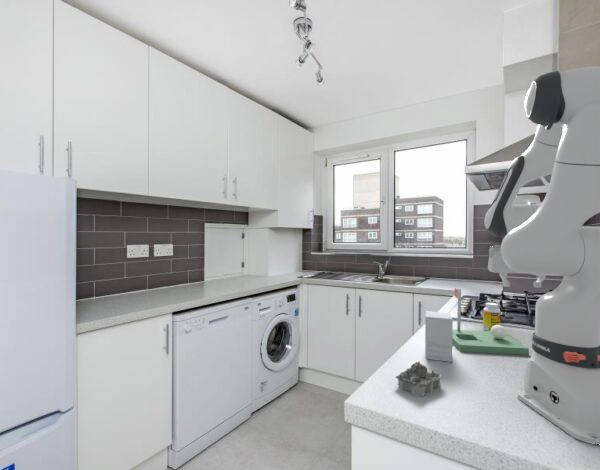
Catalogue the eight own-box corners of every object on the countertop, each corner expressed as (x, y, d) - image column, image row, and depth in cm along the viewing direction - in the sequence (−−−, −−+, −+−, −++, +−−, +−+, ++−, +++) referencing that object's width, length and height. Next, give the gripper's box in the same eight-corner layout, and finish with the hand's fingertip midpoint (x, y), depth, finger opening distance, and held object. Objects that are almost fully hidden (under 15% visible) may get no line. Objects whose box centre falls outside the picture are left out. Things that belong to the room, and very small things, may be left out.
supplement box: (450, 353, 97) (451, 312, 97) (452, 363, 90) (453, 319, 90) (424, 350, 100) (425, 310, 100) (424, 358, 93) (425, 316, 93)
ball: (509, 341, 103) (509, 327, 103) (494, 340, 103) (494, 327, 103) (502, 336, 107) (502, 323, 107) (488, 336, 108) (488, 323, 108)
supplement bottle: (490, 333, 117) (490, 305, 117) (479, 328, 123) (480, 302, 123) (503, 332, 118) (504, 305, 118) (492, 327, 124) (493, 301, 123)
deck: (528, 354, 97) (529, 299, 96) (459, 351, 99) (460, 297, 99) (497, 334, 116) (498, 288, 116) (440, 331, 118) (441, 286, 118)
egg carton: (419, 375, 83) (419, 360, 83) (446, 387, 77) (446, 370, 77) (392, 386, 77) (392, 369, 77) (418, 400, 71) (419, 382, 71)
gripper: (493, 245, 102) (492, 287, 102) (563, 246, 99) (561, 289, 100) (485, 243, 108) (483, 284, 109) (550, 244, 106) (548, 285, 106)
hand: (521, 286), depth 104 cm, fingers open, 8 cm apart
